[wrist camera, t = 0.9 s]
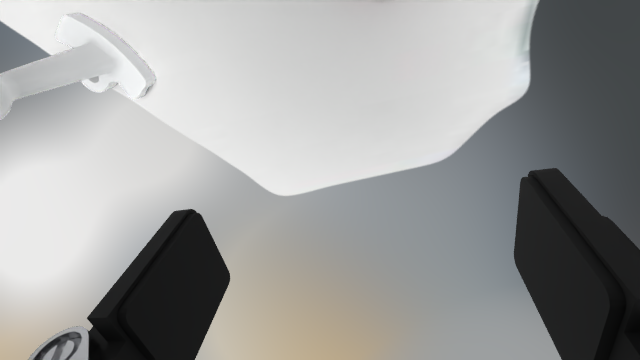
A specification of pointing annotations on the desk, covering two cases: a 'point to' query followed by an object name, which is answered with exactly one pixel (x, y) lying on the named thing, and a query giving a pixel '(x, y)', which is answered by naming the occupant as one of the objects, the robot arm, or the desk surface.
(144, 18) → the desk surface
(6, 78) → the joystick
